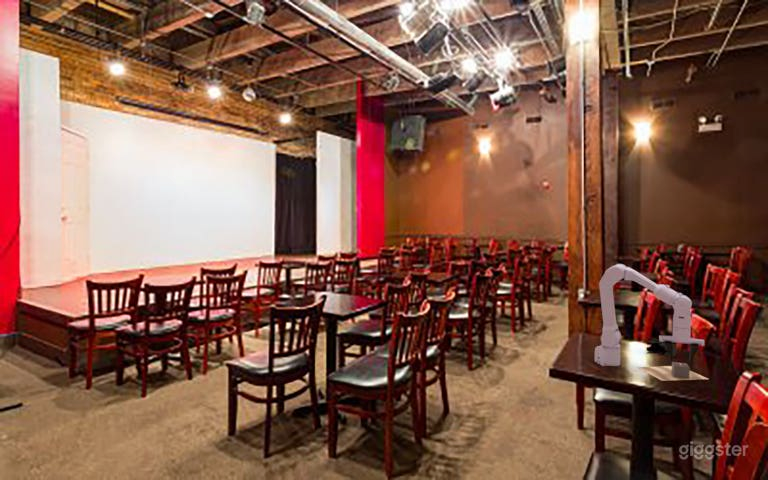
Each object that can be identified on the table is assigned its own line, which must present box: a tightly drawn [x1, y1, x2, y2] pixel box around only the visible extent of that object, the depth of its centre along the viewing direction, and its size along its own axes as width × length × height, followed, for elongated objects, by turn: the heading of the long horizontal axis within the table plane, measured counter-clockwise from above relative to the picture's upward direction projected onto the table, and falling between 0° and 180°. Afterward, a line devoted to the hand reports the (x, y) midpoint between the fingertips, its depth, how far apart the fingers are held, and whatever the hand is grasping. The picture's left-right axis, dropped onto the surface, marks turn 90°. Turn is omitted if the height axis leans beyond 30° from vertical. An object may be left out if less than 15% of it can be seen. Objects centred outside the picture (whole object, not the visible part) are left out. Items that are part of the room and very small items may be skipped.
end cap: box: [646, 337, 678, 358], centre depth 200 cm, size 10×7×7 cm
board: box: [636, 365, 709, 382], centre depth 173 cm, size 19×15×2 cm
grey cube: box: [671, 361, 691, 379], centre depth 170 cm, size 5×5×5 cm
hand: (680, 361), depth 169 cm, fingers open, 6 cm apart
